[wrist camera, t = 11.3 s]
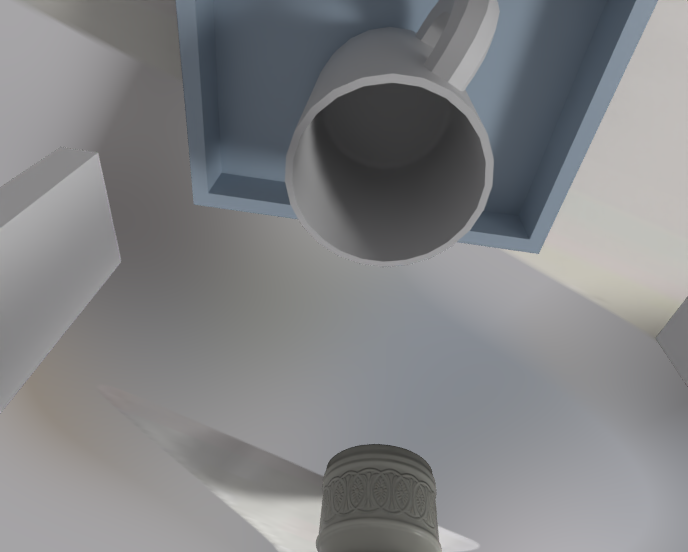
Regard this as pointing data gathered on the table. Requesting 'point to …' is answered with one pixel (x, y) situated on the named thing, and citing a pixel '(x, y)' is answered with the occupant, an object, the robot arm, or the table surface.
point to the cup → (396, 140)
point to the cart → (483, 90)
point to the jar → (378, 502)
